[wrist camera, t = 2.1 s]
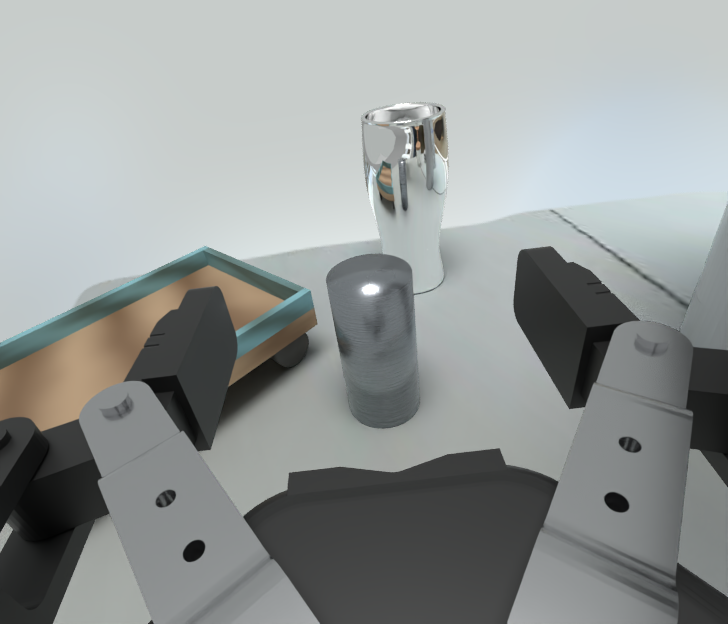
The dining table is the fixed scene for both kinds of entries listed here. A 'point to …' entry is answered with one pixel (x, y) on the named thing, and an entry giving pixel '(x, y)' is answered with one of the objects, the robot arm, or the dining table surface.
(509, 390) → the dining table surface
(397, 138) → the beer glass
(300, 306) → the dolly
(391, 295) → the metal part
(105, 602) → the dining table surface
